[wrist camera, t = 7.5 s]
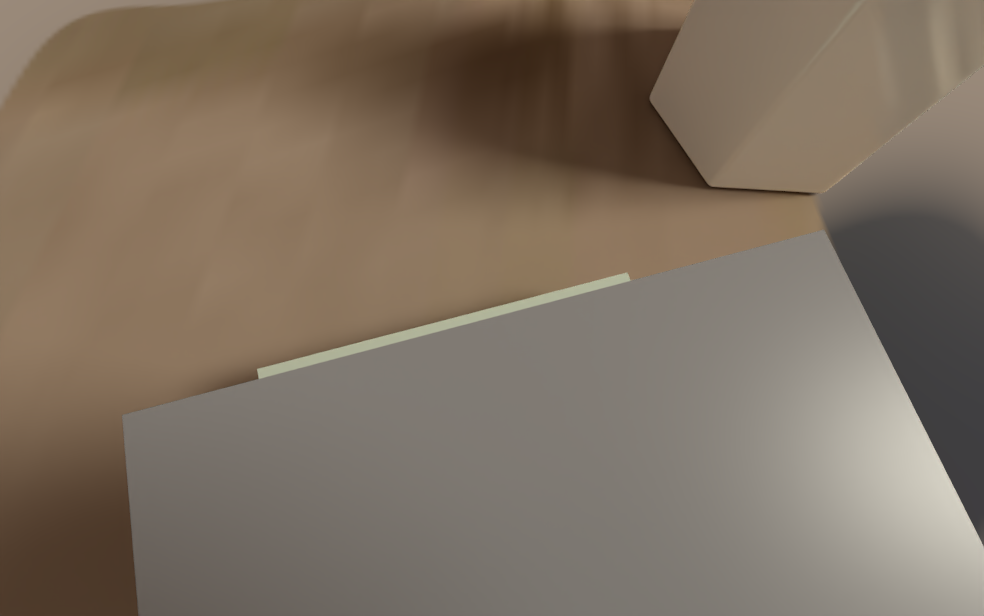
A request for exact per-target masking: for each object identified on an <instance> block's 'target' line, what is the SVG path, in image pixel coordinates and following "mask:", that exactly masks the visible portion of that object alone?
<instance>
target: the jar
mask: <svg viewBox="0 0 984 616" xmlns="http://www.w3.org/2000/svg"><path fill="white" fill-rule="evenodd" d="M983 66H984V0H694V1H693V3H692V5H691V8H690V10H689V12H688V14H687V16H686V18H685V21H684V23H683V25H682V27H681V29H680V31H679V33H678V36H677V38H676V40H675V42H674V44H673V46H672V49H671V51H670V53H669V55H668V57H667V59H666V62H665V64H664V66H663V68H662V70H661V72H660V74H659V77H658V79H657V81H656V83H655V85H654V87H653V90H652V92H651V94H650V98H649V99H650V102H651V103H652V105H653V106H654V108H655V109H656V111H657V112H658V113H659V115H660V116H661V118H662V119H663V121H664V122H665V123H666V125H667V126H668V128H669V129H670V131H671V132H672V133H673V135H674V136H675V138H676V139H677V141H678V142H679V144H680V145H681V146H682V148H683V149H684V151H685V152H686V154H687V155H688V157H689V158H690V159H691V161H692V162H693V164H694V165H695V167H696V168H697V170H698V171H699V172H700V174H701V175H702V177H703V178H704V180H705V181H706V183H707V184H708V185H709V186H712V187H723V188H741V189H758V190H775V191H792V192H808V193H824V192H826V191H827V190H828V189H830V188H831V187H832V186H833V185H835V184H836V183H837V182H839V181H840V180H841V179H842V178H844V177H845V176H846V175H847V174H849V173H850V172H851V171H852V170H854V169H855V168H856V167H857V166H859V165H860V164H861V163H862V162H864V161H865V160H866V159H867V158H869V157H870V156H871V155H873V154H874V153H875V152H876V151H877V150H879V149H880V148H881V147H882V146H884V145H885V144H886V143H887V142H889V141H890V140H891V139H893V138H894V137H895V136H896V135H897V134H899V133H900V132H901V131H903V130H904V129H905V128H906V127H908V126H909V125H910V124H911V123H913V122H914V121H915V120H916V119H918V118H919V117H920V116H922V115H923V114H924V113H925V112H926V111H928V110H929V109H930V108H932V107H933V106H934V105H935V104H937V103H938V102H939V101H940V100H942V99H943V98H944V97H945V96H947V95H948V94H949V93H950V92H951V91H953V90H954V89H955V88H956V87H958V86H959V85H960V84H962V83H963V82H964V81H965V80H967V79H968V78H969V77H971V76H972V75H973V74H974V73H975V72H977V71H978V70H979V69H981V68H982V67H983Z"/></svg>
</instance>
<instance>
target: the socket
mask: <svg viewBox="0 0 984 616" xmlns="http://www.w3.org/2000/svg"><path fill="white" fill-rule="evenodd" d="M628 281H630V278H629V275H628V273H624V274H620V275H616V276H612V277H608V278H604V279H601V280H597V281H593V282H589V283H585V284H581V285H578V286H574V287H570V288H566V289H562V290H558V291H555V292H551V293H547V294H543V295H539V296H535V297H532V298H528V299H524V300H520V301H516V302H512V303H509V304H505V305H501V306H497V307H493V308H489V309H486V310H482V311H478V312H474V313H470V314H466V315H463V316H459V317H455V318H451V319H447V320H443V321H440V322H436V323H432V324H428V325H424V326H420V327H417V328H413V329H409V330H405V331H401V332H397V333H394V334H390V335H386V336H382V337H378V338H374V339H371V340H367V341H363V342H359V343H355V344H351V345H348V346H344V347H340V348H336V349H332V350H328V351H325V352H321V353H317V354H313V355H309V356H305V357H302V358H298V359H294V360H290V361H286V362H282V363H279V364H275V365H271V366H267V367H263V368H259V369H257V371H258V378H259V379H261V378H264V377H268V376H272V375H276V374H280V373H283V372H287V371H291V370H295V369H298V368H302V367H306V366H310V365H314V364H317V363H321V362H325V361H329V360H333V359H336V358H340V357H344V356H348V355H352V354H355V353H359V352H363V351H367V350H370V349H374V348H378V347H382V346H386V345H389V344H393V343H397V342H401V341H405V340H408V339H412V338H416V337H420V336H424V335H427V334H431V333H435V332H439V331H442V330H446V329H450V328H454V327H458V326H461V325H465V324H469V323H473V322H477V321H480V320H484V319H488V318H492V317H495V316H499V315H503V314H507V313H511V312H514V311H518V310H522V309H526V308H530V307H533V306H537V305H541V304H545V303H549V302H552V301H556V300H560V299H564V298H567V297H571V296H575V295H579V294H583V293H586V292H590V291H594V290H598V289H602V288H605V287H609V286H613V285H617V284H620V283H624V282H628Z"/></svg>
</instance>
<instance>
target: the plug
mask: <svg viewBox="0 0 984 616" xmlns="http://www.w3.org/2000/svg"><path fill="white" fill-rule="evenodd" d="M122 420H123V432H124V445H125V457H126V469H127V481H128V493H129V506H130V518H131V530H132V542H133V555H134V567H135V579H136V591H137V603H138V616H984V547H983V544H982V542H981V540H980V539H979V536H978V535H977V533H976V531H975V529H974V527H973V525H972V523H971V521H970V519H969V517H968V515H967V513H966V511H965V509H964V507H963V505H962V503H961V501H960V499H959V497H958V495H957V493H956V491H955V489H954V487H953V485H952V483H951V481H950V479H949V477H948V475H947V473H946V471H945V469H944V467H943V465H942V463H941V461H940V459H939V457H938V455H937V453H936V451H935V449H934V447H933V445H932V443H931V441H930V439H929V437H928V435H927V433H926V431H925V429H924V427H923V425H922V423H921V421H920V419H919V417H918V415H917V413H916V411H915V410H914V407H913V405H912V404H911V401H910V400H909V398H908V396H907V394H906V392H905V390H904V388H903V386H902V384H901V382H900V380H899V378H898V376H897V374H896V372H895V370H894V368H893V366H892V364H891V362H890V360H889V358H888V356H887V354H886V352H885V350H884V348H883V346H882V344H881V342H880V340H879V338H878V336H877V334H876V332H875V330H874V328H873V327H872V324H871V322H870V320H869V318H868V316H867V314H866V312H865V310H864V308H863V306H862V304H861V302H860V300H859V298H858V296H857V294H856V292H855V290H854V288H853V286H852V285H851V282H850V280H849V278H848V276H847V274H846V273H845V270H844V269H843V266H842V264H841V262H840V260H839V258H838V256H837V254H836V252H835V250H834V249H833V247H832V245H831V243H830V241H829V239H828V237H827V235H826V233H825V231H824V230H821V231H817V232H814V233H810V234H806V235H802V236H799V237H795V238H791V239H787V240H783V241H780V242H776V243H772V244H768V245H764V246H761V247H757V248H753V249H749V250H746V251H742V252H738V253H734V254H730V255H727V256H723V257H719V258H715V259H711V260H708V261H704V262H700V263H696V264H692V265H689V266H685V267H681V268H677V269H674V270H670V271H666V272H662V273H658V274H655V275H651V276H647V277H643V278H639V279H636V280H632V281H628V282H624V283H620V284H617V285H613V286H609V287H605V288H602V289H598V290H594V291H590V292H586V293H583V294H579V295H575V296H571V297H567V298H564V299H560V300H556V301H552V302H549V303H545V304H541V305H537V306H533V307H530V308H526V309H522V310H518V311H514V312H511V313H507V314H503V315H499V316H495V317H492V318H488V319H484V320H480V321H477V322H473V323H469V324H465V325H461V326H458V327H454V328H450V329H446V330H442V331H439V332H435V333H431V334H427V335H424V336H420V337H416V338H412V339H408V340H405V341H401V342H397V343H393V344H389V345H386V346H382V347H378V348H374V349H370V350H367V351H363V352H359V353H355V354H352V355H348V356H344V357H340V358H336V359H333V360H329V361H325V362H321V363H317V364H314V365H310V366H306V367H302V368H298V369H295V370H291V371H287V372H283V373H280V374H276V375H272V376H268V377H264V378H261V379H257V380H253V381H249V382H245V383H242V384H238V385H234V386H230V387H227V388H223V389H219V390H215V391H211V392H208V393H204V394H200V395H196V396H192V397H189V398H185V399H181V400H177V401H173V402H170V403H166V404H162V405H158V406H155V407H151V408H147V409H143V410H139V411H136V412H132V413H128V414H124V415H122Z"/></svg>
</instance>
